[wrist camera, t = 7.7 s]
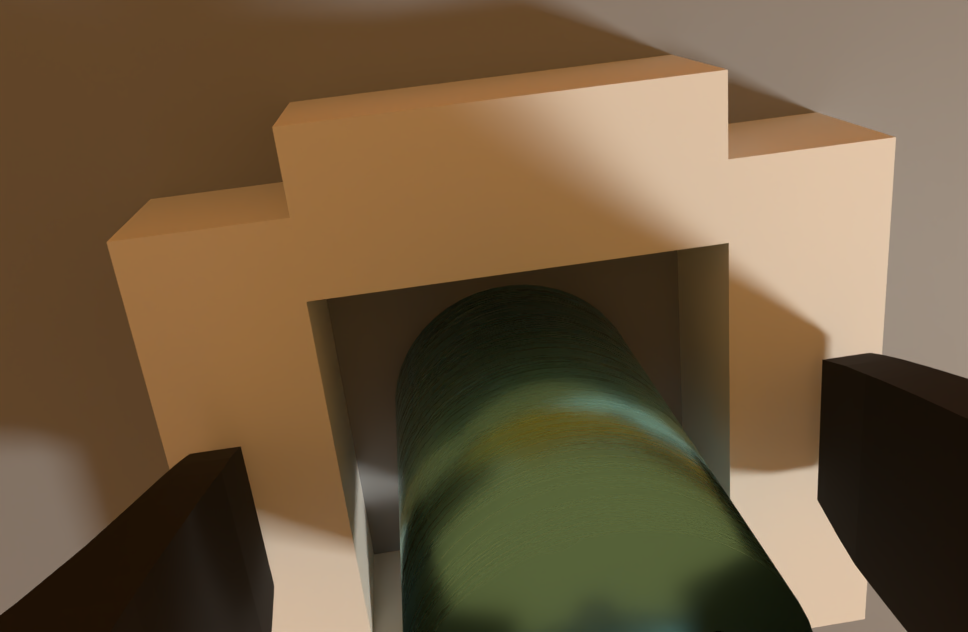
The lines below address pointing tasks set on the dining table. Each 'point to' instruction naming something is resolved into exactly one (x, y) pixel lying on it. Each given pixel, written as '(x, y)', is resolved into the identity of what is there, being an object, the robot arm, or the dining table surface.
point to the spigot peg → (561, 485)
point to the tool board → (222, 127)
